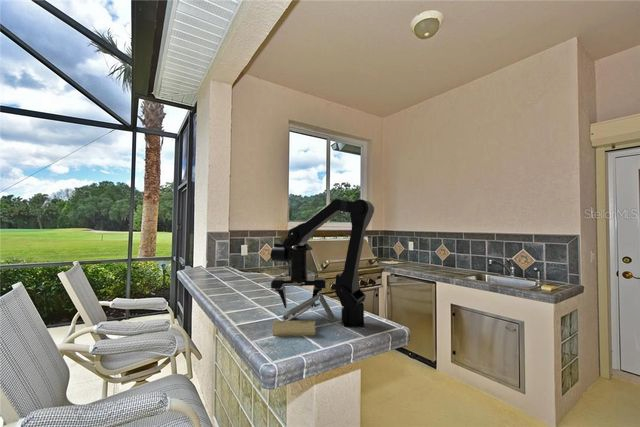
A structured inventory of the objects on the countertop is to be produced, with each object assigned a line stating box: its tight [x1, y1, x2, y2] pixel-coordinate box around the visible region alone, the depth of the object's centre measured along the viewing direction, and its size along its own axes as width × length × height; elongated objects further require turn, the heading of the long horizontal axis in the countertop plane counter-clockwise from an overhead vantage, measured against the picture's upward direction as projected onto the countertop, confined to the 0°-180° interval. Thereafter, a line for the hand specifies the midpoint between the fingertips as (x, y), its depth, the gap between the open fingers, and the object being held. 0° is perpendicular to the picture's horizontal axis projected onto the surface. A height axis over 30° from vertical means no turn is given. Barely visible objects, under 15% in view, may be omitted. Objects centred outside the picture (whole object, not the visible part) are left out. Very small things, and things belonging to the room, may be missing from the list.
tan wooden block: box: [272, 320, 316, 337], centre depth 82 cm, size 12×3×4 cm, turn 90°
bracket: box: [282, 292, 337, 323], centre depth 91 cm, size 10×14×10 cm
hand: (298, 307), depth 99 cm, fingers open, 9 cm apart
